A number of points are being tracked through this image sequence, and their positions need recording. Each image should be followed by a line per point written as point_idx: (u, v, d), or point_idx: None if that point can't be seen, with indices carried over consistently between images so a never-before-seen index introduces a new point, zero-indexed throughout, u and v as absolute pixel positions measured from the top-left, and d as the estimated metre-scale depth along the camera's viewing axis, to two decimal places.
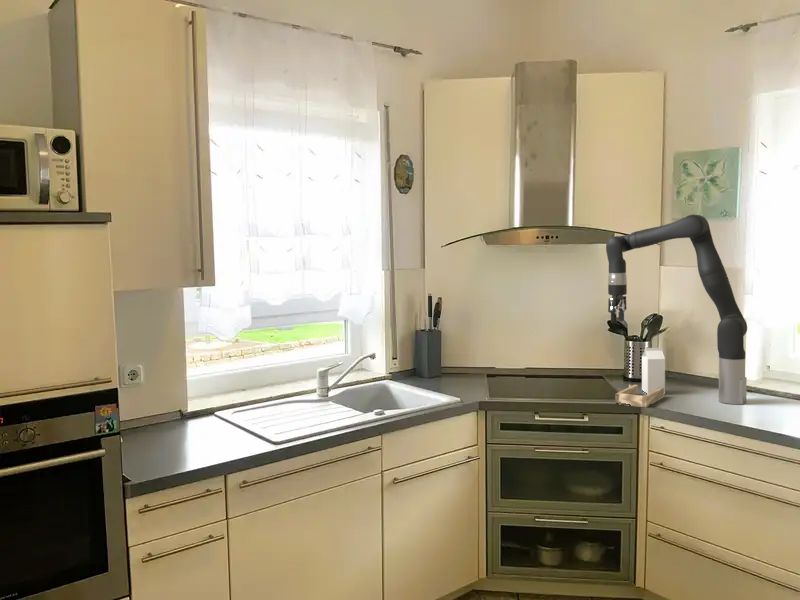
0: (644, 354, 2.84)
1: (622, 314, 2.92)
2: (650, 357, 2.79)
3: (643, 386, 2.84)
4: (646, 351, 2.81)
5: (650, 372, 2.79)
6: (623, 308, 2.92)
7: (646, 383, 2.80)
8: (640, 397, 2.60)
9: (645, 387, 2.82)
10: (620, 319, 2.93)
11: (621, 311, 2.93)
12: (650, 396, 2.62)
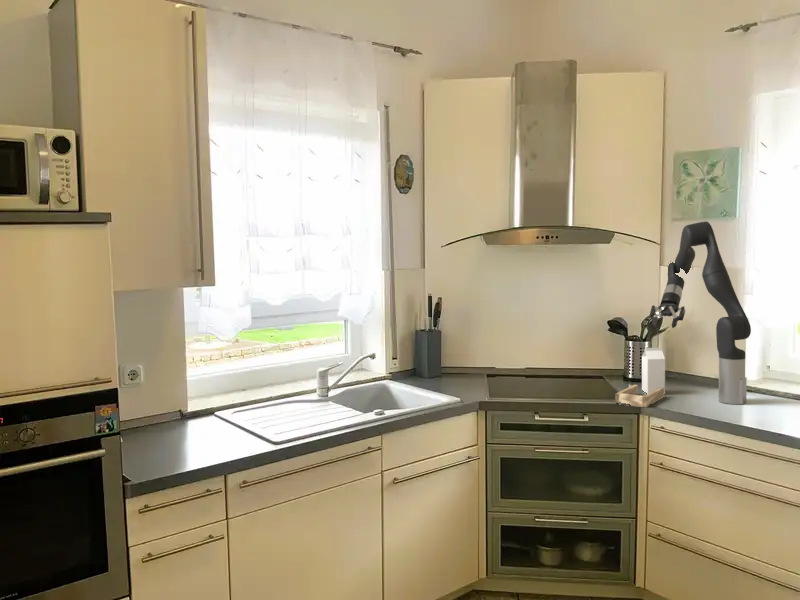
0: (644, 354, 2.84)
1: None
2: (650, 357, 2.79)
3: (643, 386, 2.84)
4: (646, 351, 2.81)
5: (650, 372, 2.79)
6: (673, 315, 2.91)
7: (646, 383, 2.80)
8: (640, 397, 2.60)
9: (645, 387, 2.82)
10: None
11: None
12: (650, 396, 2.62)
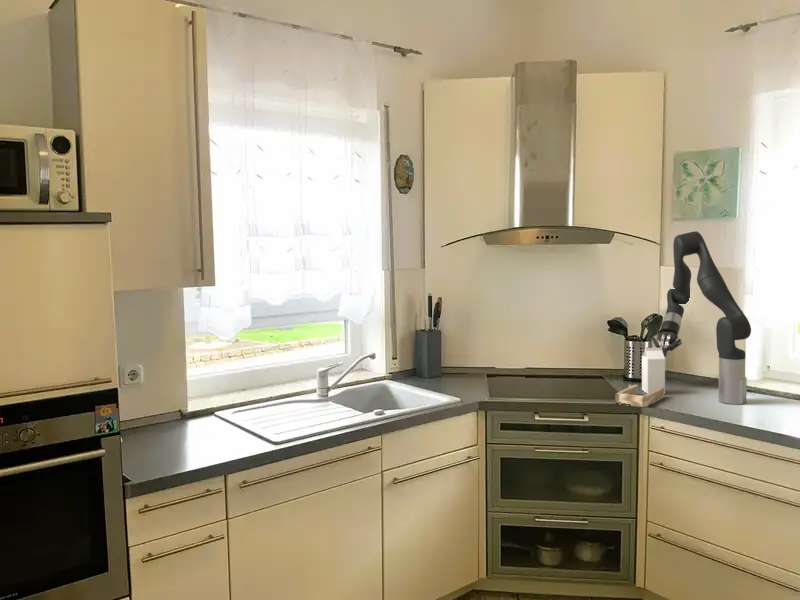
0: (644, 354, 2.84)
1: None
2: (650, 357, 2.79)
3: (643, 386, 2.84)
4: (646, 351, 2.81)
5: (650, 372, 2.79)
6: (665, 344, 2.92)
7: (646, 383, 2.80)
8: (640, 397, 2.60)
9: (645, 387, 2.82)
10: None
11: None
12: (650, 396, 2.62)
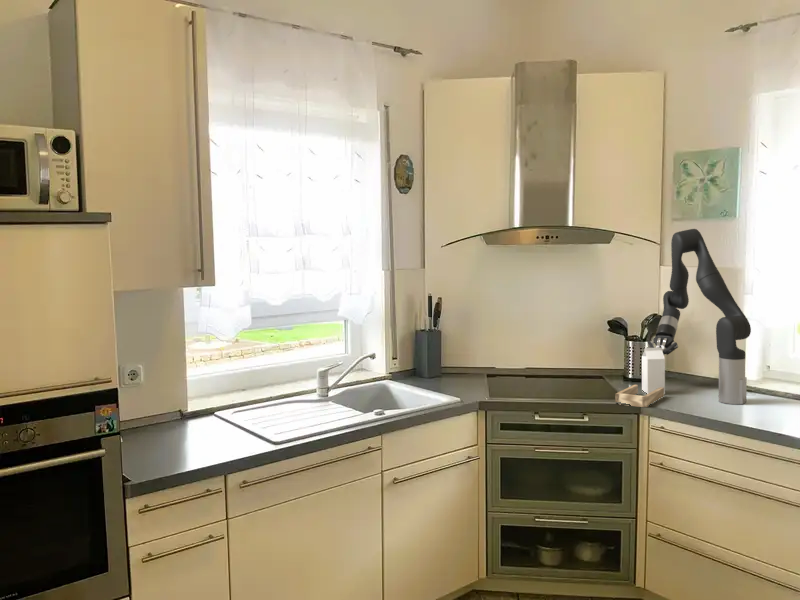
0: (644, 354, 2.84)
1: None
2: (650, 357, 2.79)
3: (643, 386, 2.84)
4: (646, 351, 2.81)
5: (650, 372, 2.78)
6: None
7: (646, 383, 2.80)
8: (640, 397, 2.60)
9: (645, 387, 2.82)
10: None
11: None
12: (650, 396, 2.62)
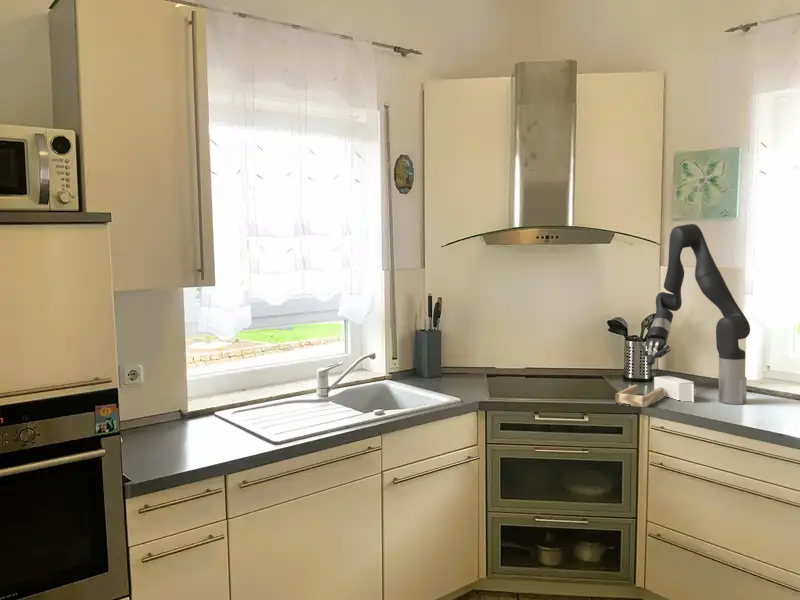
0: (692, 384, 2.68)
1: None
2: (681, 387, 2.67)
3: (667, 377, 2.80)
4: (690, 385, 2.65)
5: (669, 383, 2.72)
6: (653, 351, 2.80)
7: (664, 378, 2.77)
8: (640, 397, 2.60)
9: (664, 377, 2.79)
10: None
11: None
12: (650, 396, 2.62)
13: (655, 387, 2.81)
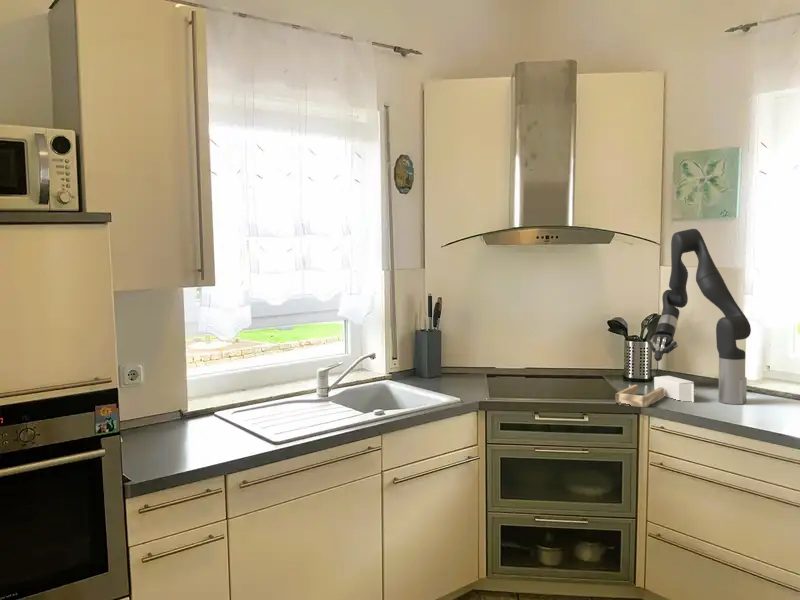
0: (692, 384, 2.68)
1: None
2: (681, 387, 2.67)
3: (667, 377, 2.80)
4: (690, 385, 2.65)
5: (669, 383, 2.72)
6: (661, 347, 2.88)
7: (664, 378, 2.77)
8: (640, 397, 2.60)
9: (664, 377, 2.79)
10: None
11: None
12: (650, 396, 2.62)
13: (655, 387, 2.81)
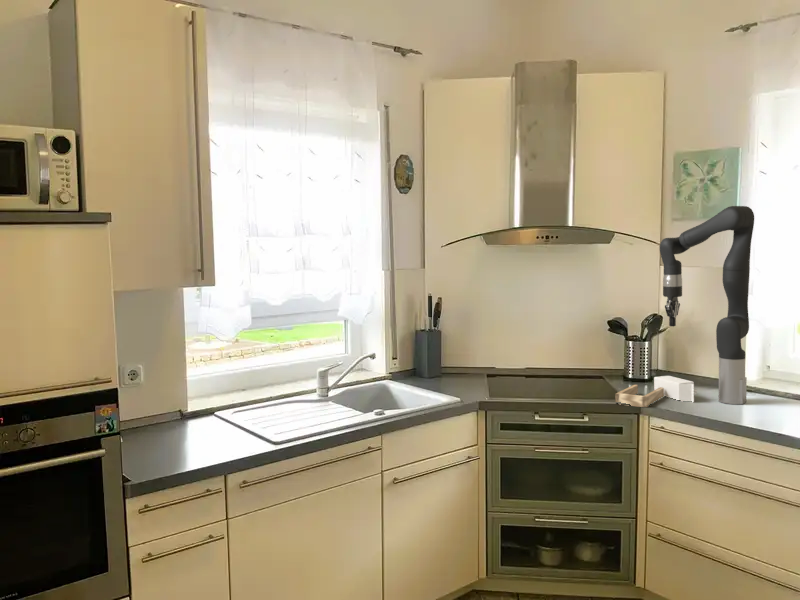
0: (692, 384, 2.68)
1: None
2: (681, 387, 2.67)
3: (667, 377, 2.80)
4: (690, 385, 2.65)
5: (669, 383, 2.72)
6: (675, 312, 2.87)
7: (664, 378, 2.77)
8: (640, 397, 2.60)
9: (664, 377, 2.79)
10: None
11: None
12: (650, 396, 2.62)
13: (655, 387, 2.81)
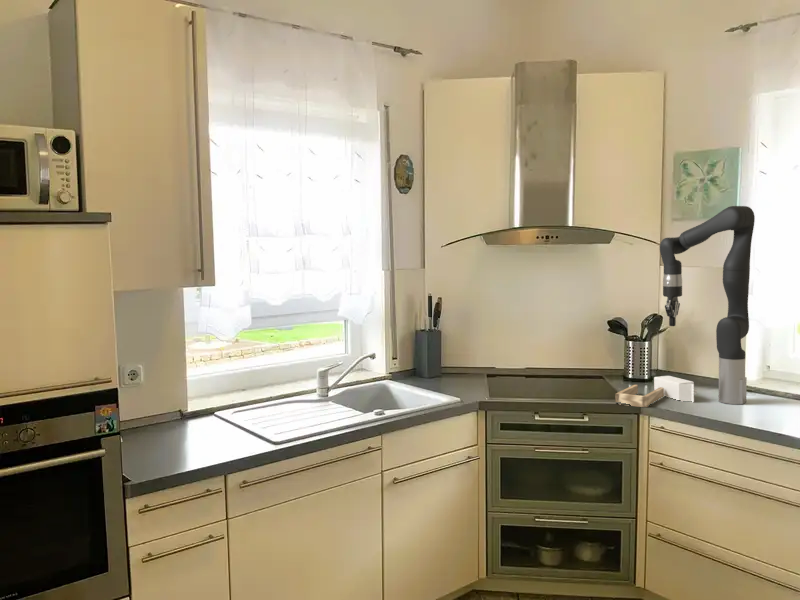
0: (692, 384, 2.68)
1: None
2: (681, 387, 2.67)
3: (667, 377, 2.80)
4: (690, 385, 2.65)
5: (669, 383, 2.72)
6: (675, 312, 2.87)
7: (664, 378, 2.77)
8: (640, 397, 2.60)
9: (664, 377, 2.79)
10: None
11: None
12: (650, 396, 2.62)
13: (655, 387, 2.81)
